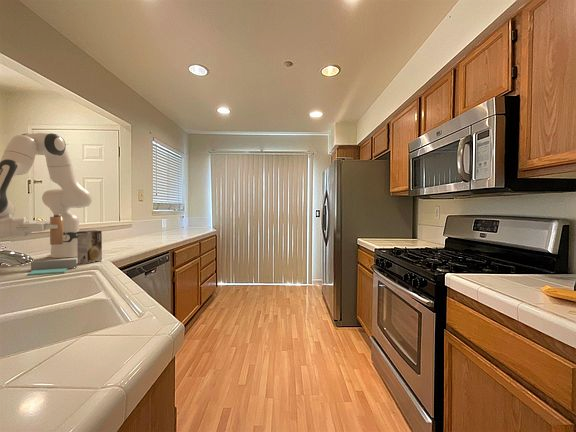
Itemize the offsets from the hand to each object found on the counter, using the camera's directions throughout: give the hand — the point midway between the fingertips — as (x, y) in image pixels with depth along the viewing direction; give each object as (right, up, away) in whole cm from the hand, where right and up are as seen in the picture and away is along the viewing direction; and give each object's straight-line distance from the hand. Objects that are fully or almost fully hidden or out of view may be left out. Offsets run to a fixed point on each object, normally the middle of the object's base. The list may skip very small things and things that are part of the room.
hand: (59, 226), depth 145 cm
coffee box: (+8, -19, +10) cm, 23 cm away
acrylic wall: (+6, -19, -10) cm, 22 cm away
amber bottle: (-1, -8, 0) cm, 9 cm away
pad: (+8, -19, -16) cm, 26 cm away
